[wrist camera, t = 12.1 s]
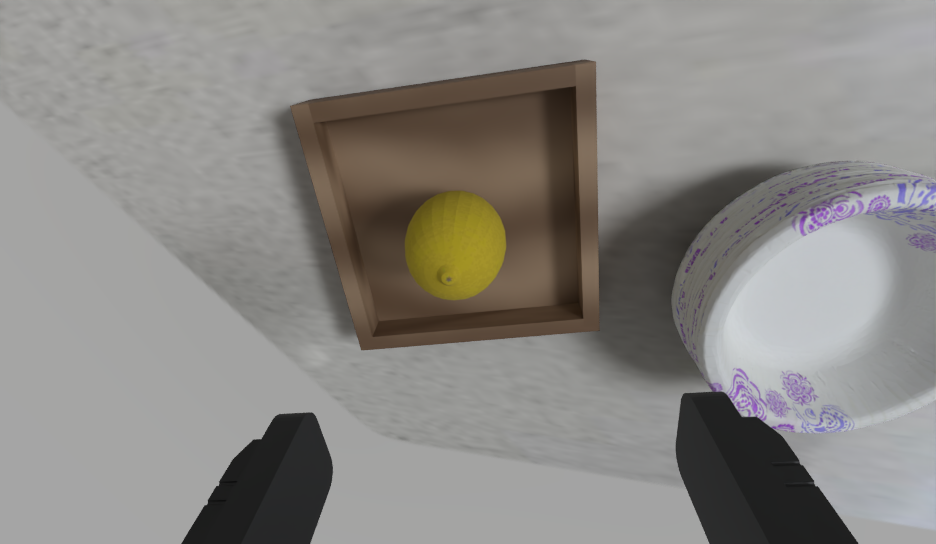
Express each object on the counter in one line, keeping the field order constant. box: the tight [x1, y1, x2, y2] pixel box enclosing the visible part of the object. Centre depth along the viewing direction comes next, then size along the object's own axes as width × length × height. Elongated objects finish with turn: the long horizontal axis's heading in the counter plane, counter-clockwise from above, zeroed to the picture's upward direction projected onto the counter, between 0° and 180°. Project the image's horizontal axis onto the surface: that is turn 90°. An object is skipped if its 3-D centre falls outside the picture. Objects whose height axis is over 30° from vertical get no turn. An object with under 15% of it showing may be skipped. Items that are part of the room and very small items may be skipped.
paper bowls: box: [671, 161, 936, 433], centre depth 27 cm, size 15×15×8 cm
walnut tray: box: [290, 60, 600, 350], centre depth 29 cm, size 16×16×3 cm
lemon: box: [405, 191, 506, 300], centre depth 25 cm, size 6×6×8 cm
